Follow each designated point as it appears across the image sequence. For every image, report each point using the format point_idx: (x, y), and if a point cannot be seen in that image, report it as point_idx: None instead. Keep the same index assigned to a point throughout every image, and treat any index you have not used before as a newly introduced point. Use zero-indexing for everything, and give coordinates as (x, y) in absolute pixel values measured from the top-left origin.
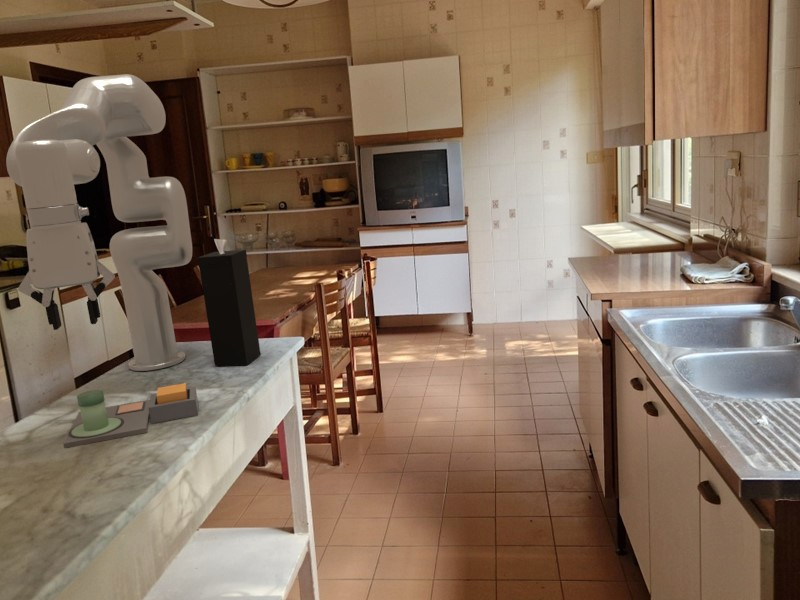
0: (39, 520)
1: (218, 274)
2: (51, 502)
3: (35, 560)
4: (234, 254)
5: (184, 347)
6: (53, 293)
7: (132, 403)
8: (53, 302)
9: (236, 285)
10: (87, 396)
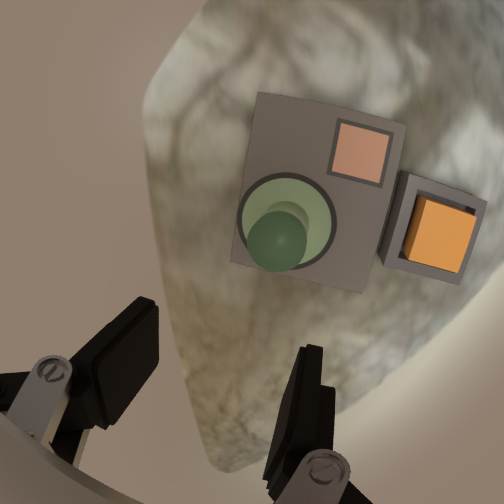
0: (218, 420)
1: None
2: (225, 401)
3: (222, 455)
4: None
5: None
6: (57, 425)
7: (367, 120)
8: (90, 414)
9: None
10: (269, 260)
